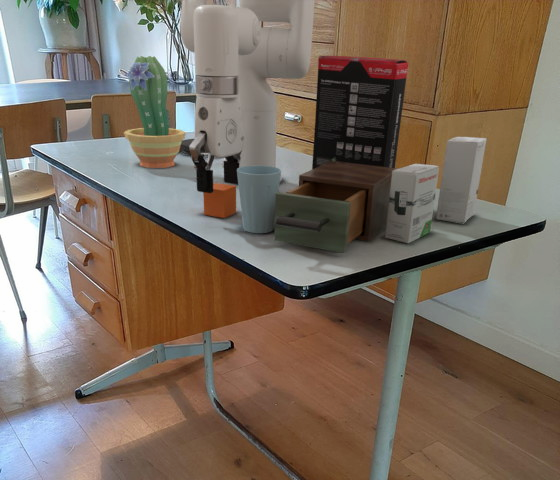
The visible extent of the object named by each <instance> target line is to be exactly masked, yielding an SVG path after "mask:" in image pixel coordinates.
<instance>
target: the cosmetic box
mask: <svg viewBox="0 0 560 480" xmlns="http://www.w3.org/2000/svg"><path fill="white" fill-rule="evenodd" d="M487 141H488V140H487V137H486V138H485V137H471V136H455V137H452V138H450V139H448V140H447V141H446V144H445V145H446V146H445V153H444V160H443V167H442V173H441V174H442V175H441V180H440V187H439V193H438V194H439V195H438V202H437V209H436V214H435V215H436V216H435V219H436V220H439V221H447V222H451V223H456V224H461V225H464V224H466V222H467V221H468V220H469V219H471V218H472V217H474V214H475V210H476V204H477V199H478V193H479V186H480V182H481V175H482V169H483V163H484V155H485V151H486V146H487V145H486V144H487Z"/></svg>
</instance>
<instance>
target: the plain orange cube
mask: <svg viewBox="0 0 560 480" xmlns="http://www.w3.org/2000/svg"><path fill="white" fill-rule="evenodd" d="M202 193H203V195H202V196H203V215H204V216H209V217H215V218H221V219H225V218H229V217H230V216H232V215H234V214H237V185H235V184H228V183H220V182H213V192H212V193H205V192H202Z"/></svg>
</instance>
